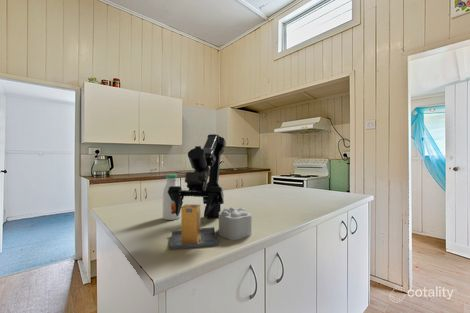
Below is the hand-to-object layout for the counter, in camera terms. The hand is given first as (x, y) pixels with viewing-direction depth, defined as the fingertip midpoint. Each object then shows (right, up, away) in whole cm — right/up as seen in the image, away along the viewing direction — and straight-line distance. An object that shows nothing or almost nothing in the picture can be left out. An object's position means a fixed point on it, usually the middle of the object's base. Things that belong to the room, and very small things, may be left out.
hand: (190, 215), depth 71 cm
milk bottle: (-15, -9, +30) cm, 35 cm away
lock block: (0, -8, 0) cm, 8 cm away
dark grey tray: (+1, -9, +3) cm, 10 cm away
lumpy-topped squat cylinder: (+14, -9, +11) cm, 20 cm away
